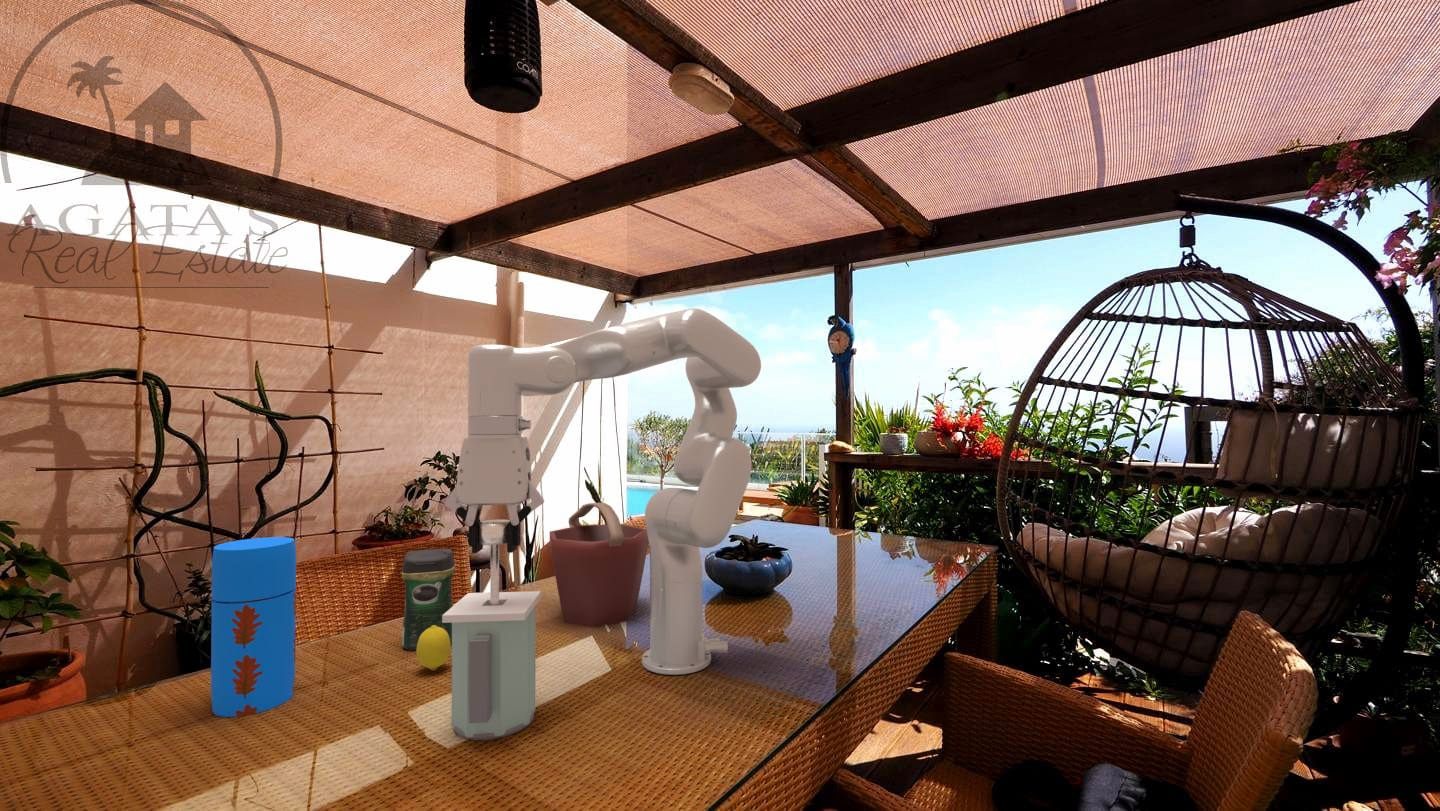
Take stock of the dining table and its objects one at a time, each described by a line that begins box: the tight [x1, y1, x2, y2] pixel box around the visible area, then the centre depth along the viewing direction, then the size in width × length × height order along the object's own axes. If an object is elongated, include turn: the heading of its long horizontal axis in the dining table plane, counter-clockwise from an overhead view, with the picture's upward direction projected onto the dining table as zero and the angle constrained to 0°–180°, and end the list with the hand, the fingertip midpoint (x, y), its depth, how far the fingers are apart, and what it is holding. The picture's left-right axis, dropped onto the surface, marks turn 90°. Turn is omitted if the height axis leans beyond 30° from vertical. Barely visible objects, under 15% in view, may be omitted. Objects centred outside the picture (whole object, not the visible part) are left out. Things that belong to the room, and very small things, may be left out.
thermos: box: [210, 536, 297, 718], centre depth 101 cm, size 11×11×25 cm
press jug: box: [442, 590, 542, 741], centre depth 93 cm, size 14×11×17 cm
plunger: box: [479, 518, 510, 606], centre depth 94 cm, size 8×8×24 cm
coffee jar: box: [401, 548, 456, 650], centre depth 126 cm, size 10×8×19 cm
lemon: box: [415, 625, 452, 672], centre depth 112 cm, size 6×6×8 cm
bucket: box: [549, 502, 649, 628], centre depth 144 cm, size 24×22×25 cm
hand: (494, 549), depth 94 cm, fingers closed on plunger, 4 cm apart
